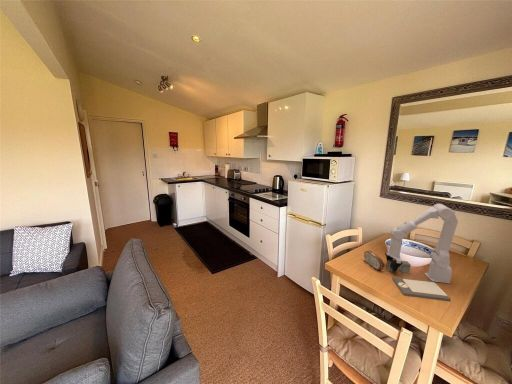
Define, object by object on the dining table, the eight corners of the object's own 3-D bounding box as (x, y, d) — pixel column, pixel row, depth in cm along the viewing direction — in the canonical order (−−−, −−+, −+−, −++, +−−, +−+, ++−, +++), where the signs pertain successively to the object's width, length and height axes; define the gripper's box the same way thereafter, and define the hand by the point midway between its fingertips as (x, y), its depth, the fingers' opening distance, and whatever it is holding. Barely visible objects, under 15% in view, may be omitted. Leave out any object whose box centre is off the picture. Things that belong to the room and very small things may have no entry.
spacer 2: (405, 270, 133) (407, 261, 132) (409, 273, 129) (410, 264, 128) (398, 269, 134) (400, 260, 132) (401, 273, 130) (403, 264, 129)
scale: (433, 283, 120) (433, 280, 119) (450, 301, 106) (450, 297, 106) (392, 279, 124) (392, 276, 123) (403, 295, 110) (404, 292, 110)
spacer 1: (393, 268, 134) (395, 260, 133) (396, 272, 130) (397, 263, 129) (386, 268, 135) (388, 259, 134) (389, 271, 131) (390, 262, 130)
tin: (383, 272, 130) (385, 259, 129) (378, 272, 130) (380, 260, 128) (366, 259, 145) (368, 248, 143) (362, 260, 144) (364, 248, 143)
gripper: (383, 241, 137) (380, 261, 140) (393, 252, 123) (389, 273, 126) (395, 242, 136) (392, 262, 139) (406, 253, 122) (402, 275, 125)
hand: (391, 267), depth 132 cm, fingers open, 7 cm apart
